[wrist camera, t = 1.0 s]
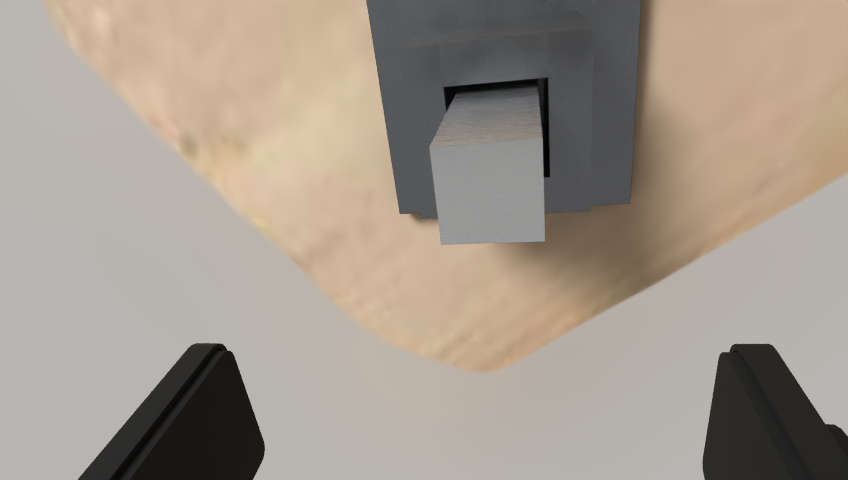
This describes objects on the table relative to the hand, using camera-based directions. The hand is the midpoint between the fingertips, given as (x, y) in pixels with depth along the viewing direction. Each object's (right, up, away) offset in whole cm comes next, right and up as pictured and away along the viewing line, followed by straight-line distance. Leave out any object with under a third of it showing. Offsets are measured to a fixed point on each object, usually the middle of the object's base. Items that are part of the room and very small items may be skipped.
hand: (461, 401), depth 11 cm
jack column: (+4, +12, +23) cm, 27 cm away
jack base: (+5, +13, +25) cm, 29 cm away
